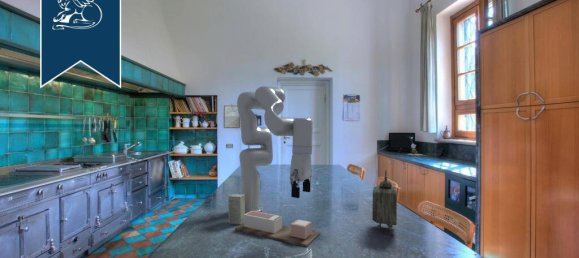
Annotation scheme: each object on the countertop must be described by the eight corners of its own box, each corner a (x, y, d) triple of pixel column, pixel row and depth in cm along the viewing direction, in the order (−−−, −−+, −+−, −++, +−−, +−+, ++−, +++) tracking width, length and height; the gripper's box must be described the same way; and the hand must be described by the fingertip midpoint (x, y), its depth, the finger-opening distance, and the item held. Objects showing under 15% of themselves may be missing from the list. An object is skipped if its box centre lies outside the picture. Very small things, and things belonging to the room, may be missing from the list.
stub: (290, 236, 102) (290, 223, 102) (297, 230, 107) (297, 219, 107) (304, 239, 99) (305, 226, 99) (311, 233, 104) (311, 221, 104)
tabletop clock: (396, 237, 104) (397, 173, 104) (372, 234, 107) (372, 171, 107) (395, 225, 117) (396, 168, 117) (373, 222, 121) (374, 167, 120)
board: (235, 229, 110) (235, 227, 110) (252, 220, 121) (252, 219, 121) (307, 247, 95) (307, 244, 95) (319, 235, 106) (319, 233, 106)
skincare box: (245, 221, 120) (245, 194, 120) (240, 225, 116) (240, 196, 116) (232, 220, 122) (233, 193, 122) (227, 223, 118) (227, 195, 118)
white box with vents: (243, 226, 112) (243, 214, 112) (252, 222, 117) (252, 210, 117) (274, 233, 105) (274, 220, 105) (281, 228, 110) (281, 215, 110)
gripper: (302, 147, 112) (302, 188, 112) (282, 151, 97) (281, 198, 97) (319, 149, 108) (318, 191, 109) (301, 152, 93) (300, 201, 94)
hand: (301, 194), depth 103 cm, fingers open, 9 cm apart
